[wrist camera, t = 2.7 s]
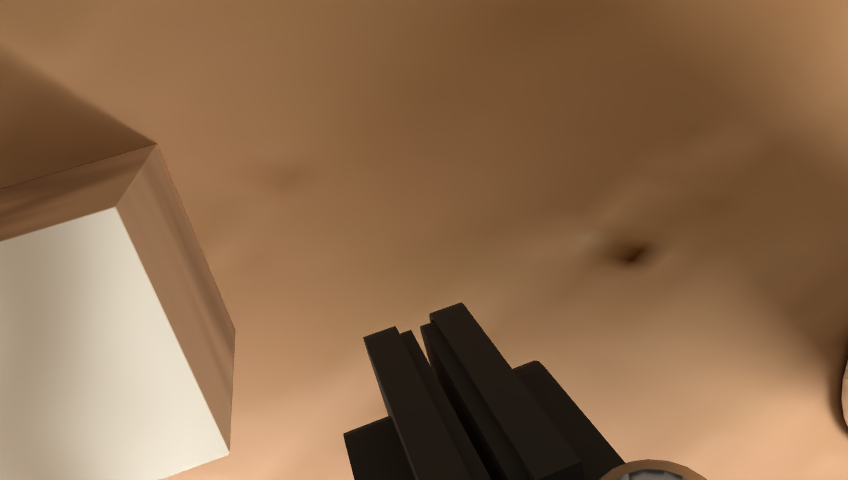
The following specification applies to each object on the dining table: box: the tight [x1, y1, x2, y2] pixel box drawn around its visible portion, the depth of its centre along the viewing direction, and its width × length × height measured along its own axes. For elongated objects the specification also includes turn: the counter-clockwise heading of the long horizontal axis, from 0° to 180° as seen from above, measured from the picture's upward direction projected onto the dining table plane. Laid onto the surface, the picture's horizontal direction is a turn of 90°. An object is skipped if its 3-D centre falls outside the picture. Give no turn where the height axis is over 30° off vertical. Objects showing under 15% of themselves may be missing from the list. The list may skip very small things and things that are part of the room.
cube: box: [0, 144, 235, 480], centre depth 18 cm, size 7×7×7 cm
